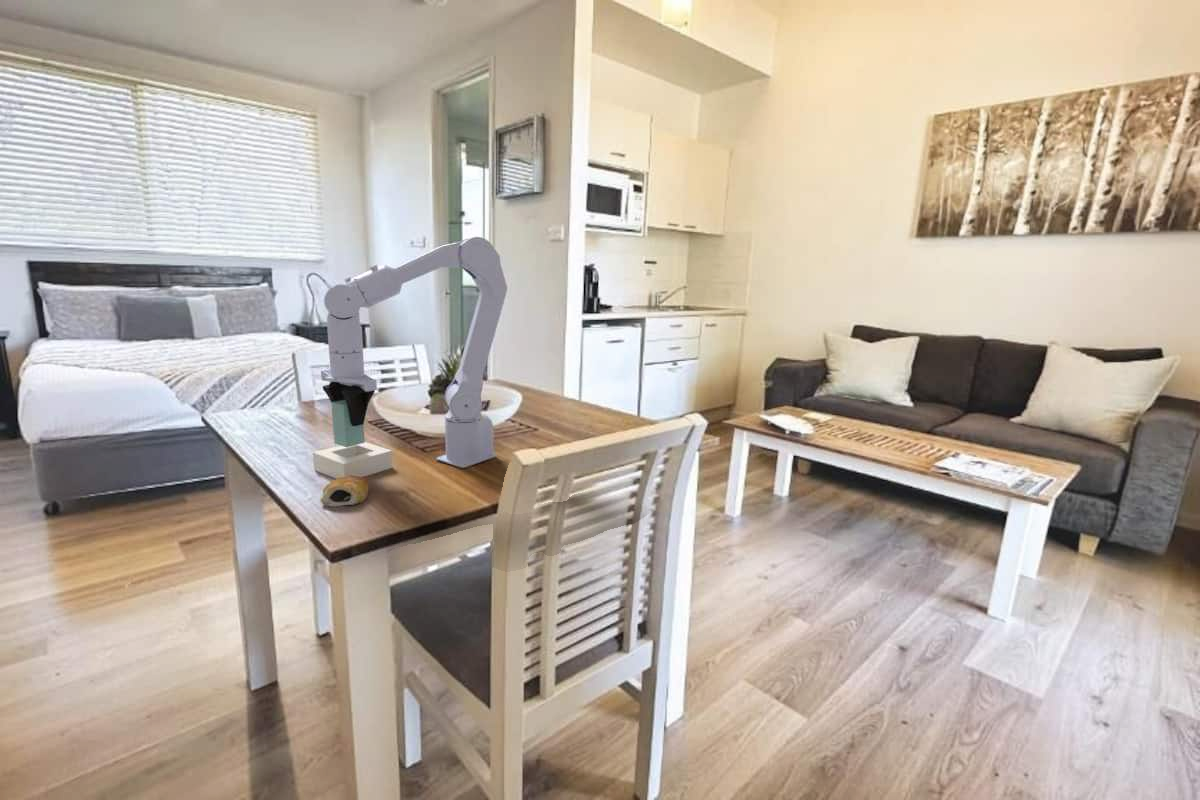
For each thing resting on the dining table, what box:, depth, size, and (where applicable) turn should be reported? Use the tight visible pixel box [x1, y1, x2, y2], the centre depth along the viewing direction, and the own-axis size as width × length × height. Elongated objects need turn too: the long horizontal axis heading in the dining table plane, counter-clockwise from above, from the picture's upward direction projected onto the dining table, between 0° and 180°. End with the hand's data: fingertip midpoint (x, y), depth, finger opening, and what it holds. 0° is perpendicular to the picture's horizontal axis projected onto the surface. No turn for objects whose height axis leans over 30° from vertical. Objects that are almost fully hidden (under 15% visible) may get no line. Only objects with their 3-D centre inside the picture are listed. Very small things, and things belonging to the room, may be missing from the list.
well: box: [312, 441, 394, 480], centre depth 109 cm, size 10×10×4 cm
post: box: [330, 400, 366, 447], centre depth 107 cm, size 4×4×8 cm
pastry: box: [320, 476, 370, 507], centre depth 96 cm, size 9×7×4 cm
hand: (350, 422), depth 107 cm, fingers closed on post, 4 cm apart
